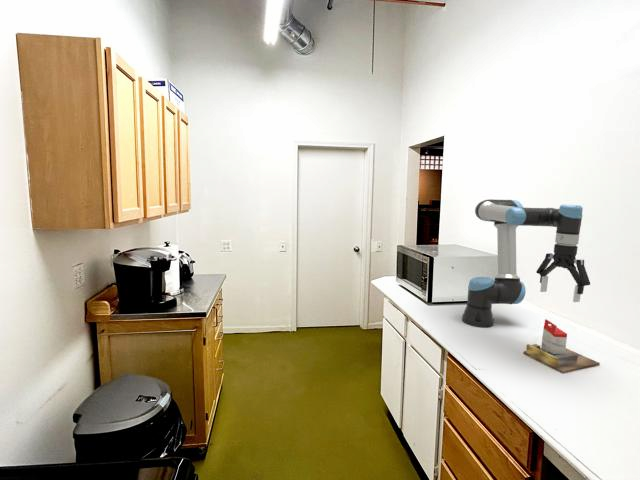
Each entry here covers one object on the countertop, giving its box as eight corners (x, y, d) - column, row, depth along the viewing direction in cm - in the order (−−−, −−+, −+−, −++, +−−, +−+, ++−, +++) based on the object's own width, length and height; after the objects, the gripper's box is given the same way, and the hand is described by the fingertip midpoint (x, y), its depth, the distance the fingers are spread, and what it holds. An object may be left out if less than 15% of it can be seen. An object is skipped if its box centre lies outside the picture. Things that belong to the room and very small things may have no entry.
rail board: (523, 353, 150) (524, 343, 149) (558, 347, 157) (559, 337, 157) (562, 373, 134) (564, 362, 134) (599, 365, 142) (601, 354, 141)
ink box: (564, 361, 142) (569, 326, 140) (551, 361, 142) (556, 326, 140) (552, 351, 150) (556, 318, 148) (539, 351, 150) (544, 318, 148)
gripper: (530, 239, 149) (524, 288, 152) (593, 250, 126) (584, 307, 129) (543, 239, 152) (537, 287, 155) (607, 249, 128) (598, 305, 132)
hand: (559, 296), depth 142 cm, fingers open, 13 cm apart
